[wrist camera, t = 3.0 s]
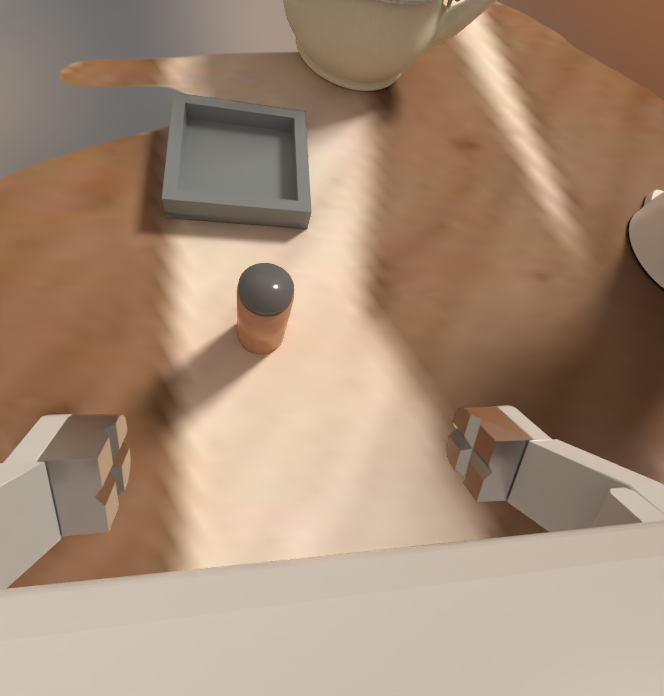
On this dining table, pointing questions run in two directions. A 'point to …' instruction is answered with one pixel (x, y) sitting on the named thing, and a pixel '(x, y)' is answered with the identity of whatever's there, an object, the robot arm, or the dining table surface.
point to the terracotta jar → (263, 307)
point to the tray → (236, 163)
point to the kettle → (373, 35)
